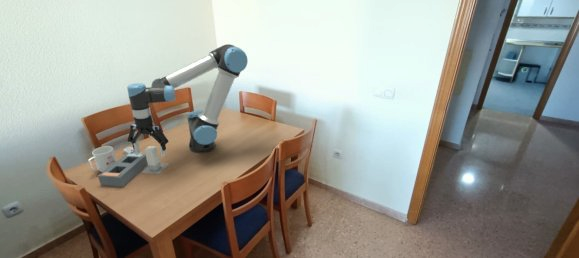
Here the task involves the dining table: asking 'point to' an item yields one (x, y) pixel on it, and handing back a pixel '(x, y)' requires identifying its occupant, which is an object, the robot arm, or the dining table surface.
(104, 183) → the dock
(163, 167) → the mat
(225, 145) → the dining table surface
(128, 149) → the electronic device
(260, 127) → the dining table surface
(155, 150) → the plug
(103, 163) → the mug
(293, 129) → the dining table surface
